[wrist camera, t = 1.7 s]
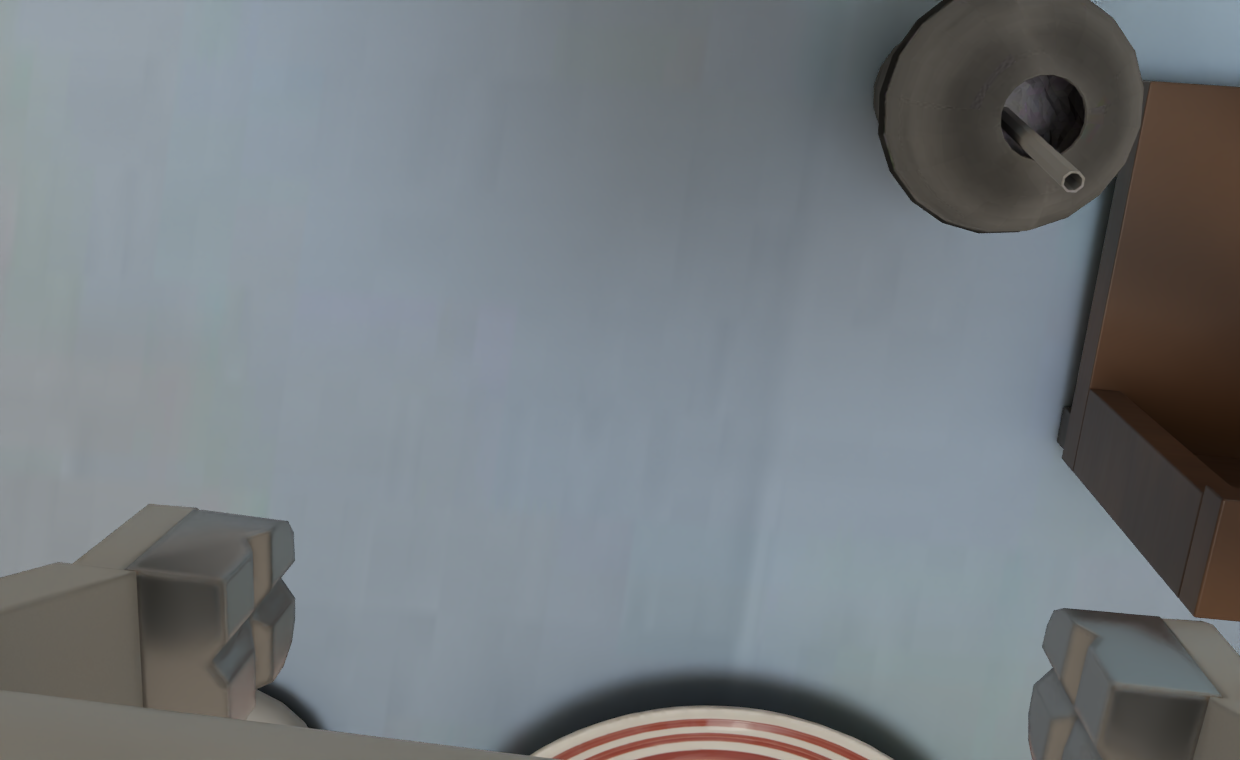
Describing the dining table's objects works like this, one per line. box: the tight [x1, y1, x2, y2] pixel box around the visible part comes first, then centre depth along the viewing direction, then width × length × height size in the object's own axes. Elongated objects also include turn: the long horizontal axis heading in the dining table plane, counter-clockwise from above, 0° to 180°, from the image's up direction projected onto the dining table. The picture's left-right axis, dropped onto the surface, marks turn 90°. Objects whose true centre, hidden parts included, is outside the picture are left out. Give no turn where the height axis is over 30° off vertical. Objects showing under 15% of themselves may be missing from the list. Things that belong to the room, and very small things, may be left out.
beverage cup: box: [873, 0, 1144, 233], centre depth 33 cm, size 7×7×20 cm
